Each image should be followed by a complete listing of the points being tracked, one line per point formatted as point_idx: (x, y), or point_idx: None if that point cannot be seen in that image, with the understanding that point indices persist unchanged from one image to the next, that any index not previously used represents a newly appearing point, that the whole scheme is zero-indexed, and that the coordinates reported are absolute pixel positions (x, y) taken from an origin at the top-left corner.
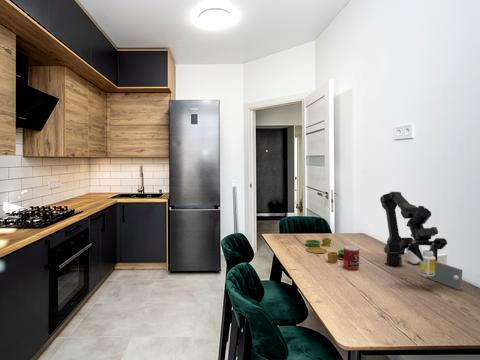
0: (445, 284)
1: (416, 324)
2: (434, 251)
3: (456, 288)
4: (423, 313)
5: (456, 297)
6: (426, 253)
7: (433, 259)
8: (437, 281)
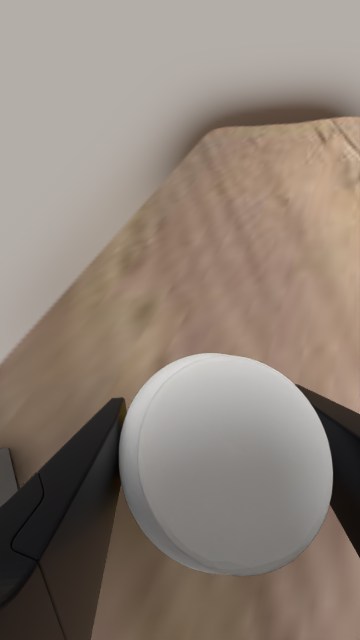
0: None
1: (316, 173)
2: (78, 498)
3: (9, 466)
4: (281, 221)
5: (89, 356)
6: (280, 379)
7: (176, 362)
8: None
